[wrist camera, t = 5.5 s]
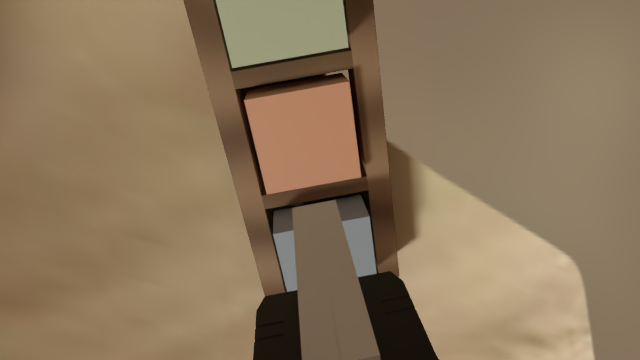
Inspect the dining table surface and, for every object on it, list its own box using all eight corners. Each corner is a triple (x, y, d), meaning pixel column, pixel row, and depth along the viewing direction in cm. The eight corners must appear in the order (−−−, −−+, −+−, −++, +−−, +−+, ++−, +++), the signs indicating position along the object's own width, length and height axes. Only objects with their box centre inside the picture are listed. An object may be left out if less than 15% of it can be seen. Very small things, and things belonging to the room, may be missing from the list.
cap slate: (290, 280, 30) (291, 309, 27) (273, 210, 27) (272, 234, 24) (369, 266, 30) (379, 292, 27) (360, 194, 27) (369, 216, 25)
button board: (390, 256, 32) (399, 276, 30) (267, 279, 32) (266, 300, 30) (353, -100, 22) (362, -112, 20) (174, -69, 22) (162, -77, 20)
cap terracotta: (268, 175, 28) (266, 194, 25) (248, 89, 25) (244, 100, 22) (353, 159, 28) (361, 177, 25) (341, 72, 25) (349, 81, 23)
